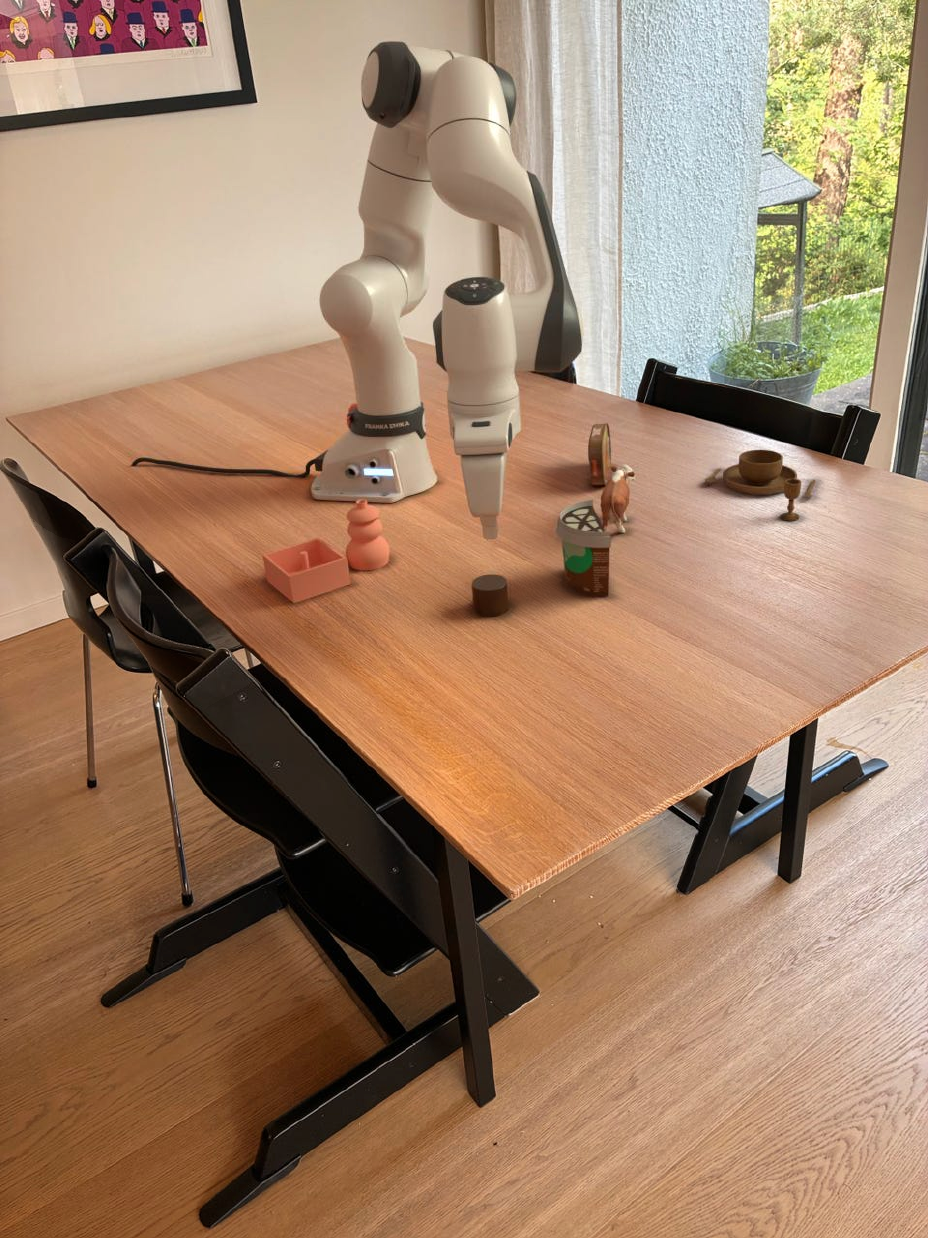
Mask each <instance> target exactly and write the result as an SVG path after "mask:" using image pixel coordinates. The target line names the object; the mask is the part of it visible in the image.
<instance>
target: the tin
mask: <svg viewBox="0 0 928 1238" xmlns="http://www.w3.org/2000/svg"><path fill="white" fill-rule="evenodd" d="M611 444H612V443H611V431H610V426H609V423H608V422H606V423H595V424H593V425H592V427H591V431H590V434H589V438H588V443H587V458H588V463H589V473H590V474H589V475H590V476H589V481H590V484H591V485H592V486H606V484H607V482H608V481H609V479H610V478H609V477H610V473H611V468H612V446H611Z"/></svg>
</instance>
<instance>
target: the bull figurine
mask: <svg viewBox="0 0 928 1238" xmlns="http://www.w3.org/2000/svg"><path fill="white" fill-rule="evenodd" d="M610 471H611V472H613V473H612V475H611V477H610V478H609V479H608V482H607V484H606V485H604V486H605V487H604V488H603V490H602V493H601V495H600V512H601V513H602V525H603V528H604V530H605V532H606V531H607V527H608V526H609V525H608V524H609V520H610V522H611V523H615V527H616V528H617V530H618V532H619V533H621V534H625V533H626V529H625V528H624V526H623V525H624V522H627V521H628V518H627V515H626V511H627V508H628V506H629V504H630V494H631V491H630V486H629V484H628V483H629V482H631V481H635V480H636V473H635V472H634V470H633V468H632V467H630V465H627V464H624V463H623V464H621V465H620V466H619V467H617V466H611V468H610Z"/></svg>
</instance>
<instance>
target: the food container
mask: <svg viewBox="0 0 928 1238" xmlns="http://www.w3.org/2000/svg"><path fill="white" fill-rule="evenodd" d="M594 508H595V507H594V499H587V500H582V501H578V502H575V503H572V504H570V505H568V506H566V507H565V508H564V509H562V511H561V512H560V513H559V516H558V518H557V523H556V526H555V527H556V528H555V532H556V535H557V537H559V539H561V548H562V557H563V566H564V567H563V569H564V575H565V576H564V578H565V584H566V586H567V588H568V589H569V590H571V591H572V592H574V593H577V594H580V595H583V596H589V597H609V593H610V592H609V591H610V590H609V589H610V588H609V587H610V586H609V585H610V548H611V547H612V546H611V532H610V530H609V531H607V530H606V532H605V530H604V528H603V525H602V524H603V522H602V521H601V518H600V517H599V515H598V514H597V512H596V511H595V509H594Z"/></svg>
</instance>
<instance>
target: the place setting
mask: <svg viewBox="0 0 928 1238" xmlns="http://www.w3.org/2000/svg"><path fill="white" fill-rule="evenodd" d="M783 462H784V457H783V455H782V454H781V453H780V452H777V451H775V450H770V449H751V450H746V451H743V452H742V453H741V454H739V456H738V463H736V464H733V465H730V466H728V467H727V468H725V469H724V470H723V472H722V480H723V482H724V484H725V485H726V486H727V487H729V488H730V489H732V490H734V491H737V492H739V493H741V494H746V495H755V496H769V495H776V494H779V493H782V492H783V495H784V498H785V499H787V500H788V503H787V505H786V509H787V512H783V513H781V514H780V515H779V517H780V519H781V520H783V521H787V522H794V521H798V520H799V519H800V515H799V514H798V513H796V512H793V511H794V510H795V505H794V503H795V500H797V499H799V497H800V494H801V489H802V480H800V479H798V473H797V471H795V469H793V468H792V467H790V466H787V465H785V464H784V463H783ZM783 464H784V465H783ZM721 469H722V468H717V469H716V470H715V472H714V473H713V474H712V475H711V476H709V477H706V478H705V479H704V483H706V484H708V485H712V484H714V483H716V482H717V478H716V476H717V475H718V474H719V473H720V472H721ZM815 484H816V479H812V481H811V483H810V485H809V487H808V490H807V492H806V494H805V493H804V494H803V496H801V498H804V499H812V497H813V495H812V494H811V493H812V490H813V488H814V486H815Z"/></svg>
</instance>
